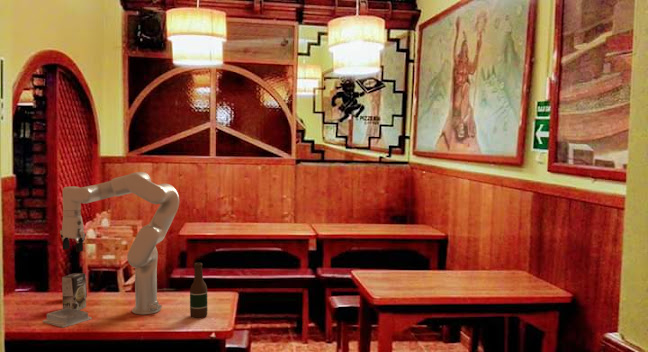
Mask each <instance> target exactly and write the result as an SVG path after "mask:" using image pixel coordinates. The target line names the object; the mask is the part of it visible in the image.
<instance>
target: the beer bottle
mask: <svg viewBox="0 0 648 352" xmlns="http://www.w3.org/2000/svg"><path fill="white" fill-rule="evenodd" d="M193 265H194V276H193V277H194V278H193V282H192V284H191V286H190V289H189V309H190V310H189V311H190V312H189V314H190V318H192V319H204V318H207V316H208V285H207V284H206V282H205V281H204V276H203V275H204V274H203V263H202V262H195V263H194V264H193Z"/></svg>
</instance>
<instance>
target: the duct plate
mask: <svg viewBox="0 0 648 352" xmlns="http://www.w3.org/2000/svg"><path fill="white" fill-rule="evenodd" d="M92 319H93V317H92V316H89V312H87V311H84V310H81V309H80V310H76V309H72V308H65V309H63V308H62V309H59V310H56V311H52V312H48V313H46V319H43V320H42V323H45V324H47V325H52V326H55V327H59V328H62V329H63V328H66V327H67V328H68V327H71V326H74V325H77V324H80V323H83V322H86V321H89V320H92Z"/></svg>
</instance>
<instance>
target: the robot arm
mask: <svg viewBox="0 0 648 352" xmlns="http://www.w3.org/2000/svg"><path fill="white" fill-rule="evenodd" d="M129 194H134V195H135V196H137V197H139V198H141V199H143V200H145V201H146V202H148V203H150V204H153V205H159V206H158V207H157V209H156V210H155V213H154V215H153V217H152V218H151V220H150V222H149V223H148V224H146V225H144V226H142V227H141V228H140V229H139V231H137V234H136V236H135V238H134V240H133V242H132V244H131V245H130V248H129V250H128V252H127V256H126V258H127V263H128V265H130V266H131V267H133V268H135V269H134V288H135V289H134V292H135V293H134V294H135V297H134V298H135V306H134V307H132V309H131V313H133V314H135V315H151V314H155V313H158V312H160V311H161V309H162V307H163V305H162V304H159V301H158V295H157V294H158V282H157V281H158V278H157V276H158V275H157V273H158V271H157V267H158V258H159V257H158V256H159V253H158V249H157V245H158V244H159V243H161V242H162V241H163V240H164V239H165V237H166V234H168V233H167V232H168V230H169V229H170V227H171V225H172V223H173V221H174V219H175V216H176V214H177V212H178V210H179V206H180V196H179V193H178V190H177V189H176V188H175V187H174V185H172V184H169V183H160V184H156V183H155V182H152V179H151V175H149V174H148V173H147V172H146V171H137V172H132V173H130V174H126V175H122V176H117V177H114V178H112V179H110V180H108V181H106V182H101V183H97V184H93V185H87V186H83V187H79V186H74V185H72V186H65V187H63V188H62V216H63V217H62V226H61V227H62V228H61V229H60V230H59V234H60V238H61V241H62V250H69V249H70V248H71V246H70V243H71V242H70V239H72V240H75V252H76V253H79V252H83V250H84V241H85V239H86V233H85V229H84V222H83V217H82V205H81V204H89V203H93V202H98V201H102V200H106V199H109V198H113V197H122V196H125V195H129Z"/></svg>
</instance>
